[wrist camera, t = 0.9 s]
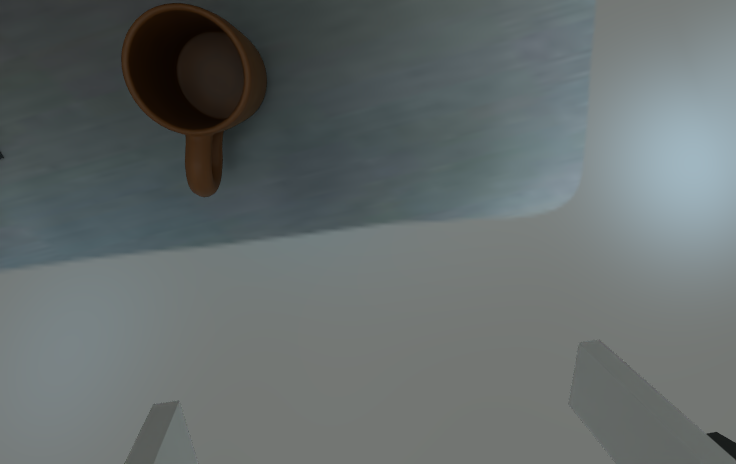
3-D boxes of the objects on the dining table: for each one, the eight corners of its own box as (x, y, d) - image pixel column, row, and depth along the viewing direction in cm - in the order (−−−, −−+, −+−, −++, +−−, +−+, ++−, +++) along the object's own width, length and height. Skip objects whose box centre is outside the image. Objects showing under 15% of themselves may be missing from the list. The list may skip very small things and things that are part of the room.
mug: (269, 177, 35) (256, 207, 26) (180, 174, 34) (135, 203, 25) (268, 30, 31) (251, 7, 22) (166, 20, 30) (107, -9, 21)
